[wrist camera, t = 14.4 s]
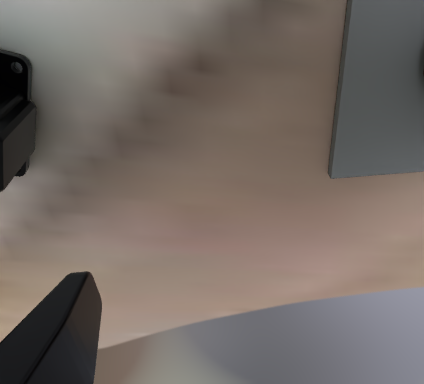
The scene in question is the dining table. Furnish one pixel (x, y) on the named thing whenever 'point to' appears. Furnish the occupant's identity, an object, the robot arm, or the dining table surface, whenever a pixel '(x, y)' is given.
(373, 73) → the mat
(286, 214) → the dining table surface
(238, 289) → the dining table surface
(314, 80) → the dining table surface
